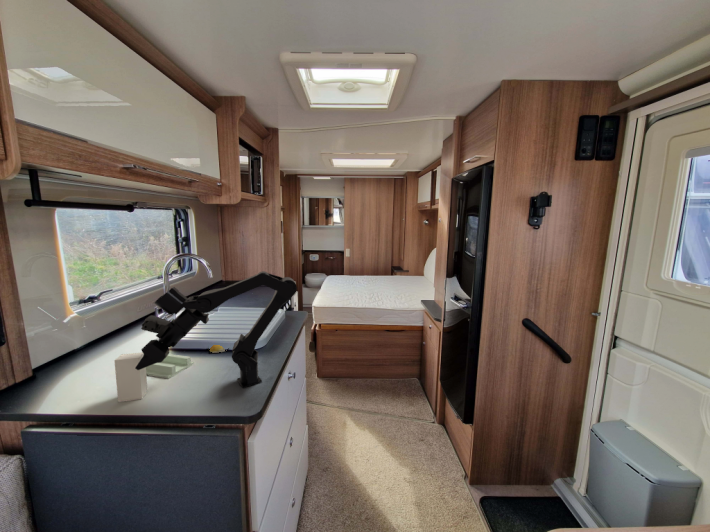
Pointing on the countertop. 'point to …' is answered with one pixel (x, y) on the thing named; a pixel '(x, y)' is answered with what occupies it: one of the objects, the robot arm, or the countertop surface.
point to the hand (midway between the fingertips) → (143, 361)
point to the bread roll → (217, 349)
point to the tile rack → (169, 366)
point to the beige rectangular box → (130, 377)
